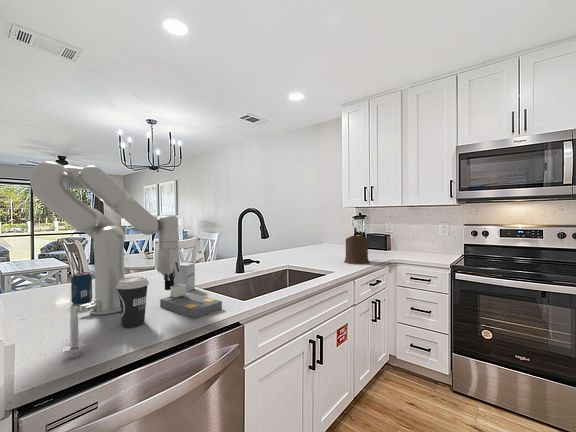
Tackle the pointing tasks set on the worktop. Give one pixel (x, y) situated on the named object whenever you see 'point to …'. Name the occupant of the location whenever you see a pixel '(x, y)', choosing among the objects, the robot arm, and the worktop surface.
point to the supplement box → (186, 276)
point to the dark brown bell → (356, 249)
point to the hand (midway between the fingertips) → (169, 289)
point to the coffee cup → (132, 300)
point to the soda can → (81, 288)
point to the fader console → (191, 305)
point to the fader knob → (178, 290)
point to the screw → (74, 337)
